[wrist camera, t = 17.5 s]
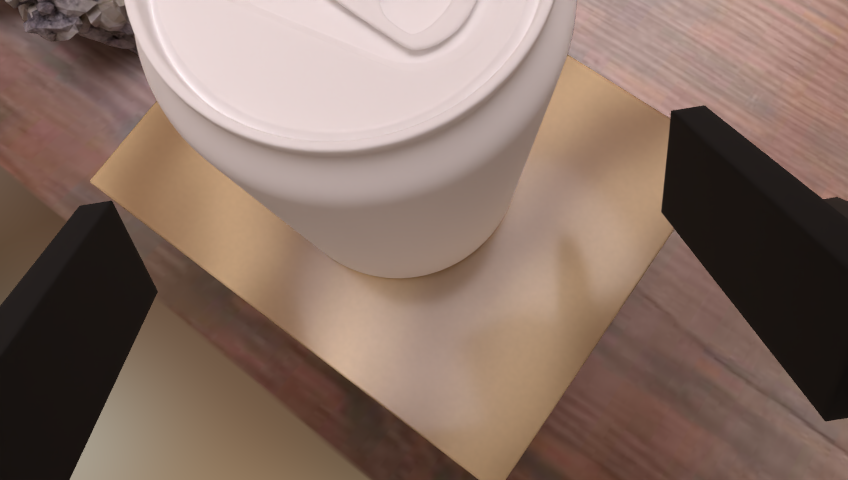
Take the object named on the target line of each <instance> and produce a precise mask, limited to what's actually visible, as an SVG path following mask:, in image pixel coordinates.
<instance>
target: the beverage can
mask: <svg viewBox="0 0 848 480" xmlns="http://www.w3.org/2000/svg"><path fill="white" fill-rule="evenodd" d="M124 3H125V7H126V11H127V15H128V18H129V21H130V24H131V27H132V29H133V32H134V35H135V41H136V46H137V50H138V54H139V58H140V61H141V65H142V68H143V71H144V73H145V76H146V79H147V81H148V84H149V86H150V88H151V90H152V92H153V94H154V96H155V98H156V100H157V102H158V104H159V105H160V107H161V109H162V110H163V112H164V113H165V115H166V116H167V118H168V119H169V121H170V122H171V124H172V125H173V126H174V128H175V129H176V130H177V131H178V133H179V134H180V135H181V136H182V137H183V138H184V140H185V141H186V142H187V143H188V144H189V145H190V146H191V147H192V148H193V149H194V150H195V151H196V152H197V153H199V154H200V155H201V156H202V157H203V158H204V159H205V160H207V161H208V162H209V163H210V164H212V165H213V166H214V167H215V168H217V169H218V170H219V171H220V172H222V173H223V174H224V175H225V176H227V177H228V178H229V179H231V180H232V181H233V182H234V183H236V184H237V185H238V186H239V187H241V188H242V189H243V190H245V191H246V192H247V193H248V194H250V195H251V196H252V197H253V198H255V199H256V200H257V201H259V202H260V203H261V204H262V205H264V206H265V207H266V208H267V209H269V210H270V211H271V212H273V213H274V214H275V215H276V216H278V217H279V218H280V219H281V220H283V221H284V222H285V223H287V224H288V225H289V226H290V227H292V228H293V229H294V230H295V231H297V232H298V233H299V234H301V235H302V236H303V237H304V238H306V239H307V240H308V241H309V242H311V243H312V244H313V245H315V246H316V247H317V248H318V249H320V250H321V251H322V252H324V253H325V254H326V255H328V256H329V257H330V258H332V259H333V260H335V261H337V262H338V263H340V264H342V265H344V266H346V267H348V268H350V269H353V270H355V271H358V272H361V273H364V274H368V275H372V276H377V277H384V278H412V277H419V276H424V275H428V274H432V273H435V272H438V271H441V270H443V269H446V268H448V267H450V266H452V265H454V264H456V263H458V262H460V261H461V260H463V259H465V258H466V257H467V256H469V255H470V254H472V253H473V252H474V251H475V250H477V249H478V248H479V247H480V246H481V245H482V244H483V243H484V242H485V241H486V240H487V239H488V238H489V237H490V236H491V234H492V233H493V232H494V231H495V229H496V228H497V226H498V225H499V223H500V222H501V220H502V219H503V217H504V215H505V213H506V211H507V209H508V207H509V204H510V202H511V200H512V197H513V194H514V192H515V189H516V187H517V184H518V182H519V179H520V176H521V174H522V171H523V169H524V166H525V164H526V161H527V158H528V156H529V153H530V151H531V148H532V146H533V143H534V141H535V138H536V135H537V133H538V130H539V128H540V125H541V123H542V120H543V117H544V115H545V112H546V110H547V107H548V105H549V102H550V100H551V97H552V94H553V92H554V89H555V87H556V84H557V82H558V79H559V76H560V74H561V71H562V68H563V66H564V63H565V60H566V57H567V54H568V51H569V48H570V44H571V40H572V35H573V30H574V24H575V17H576V5H577V0H124Z"/></svg>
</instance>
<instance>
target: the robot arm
mask: <svg viewBox="0 0 848 480" xmlns="http://www.w3.org/2000/svg"><path fill="white" fill-rule="evenodd" d="M661 212H662V214H663V215H664V216H665V218H666V219H667V220H668V221H669V223H670V224H671V225H672V226H673V228H674V229H675V230H676V232H677V233H678V234H679V235H680V237H681V238H682V239H683V240H684V242H685V243H686V244H687V246H688V247H689V248H690V249H691V251H692V252H693V253H694V255H695V256H696V257H697V258H698V260H699V261H700V262H701V263H702V265H703V266H704V267H705V269H706V270H707V271H708V272H709V274H710V275H711V276H712V277H713V279H714V280H715V281H716V283H717V284H718V285H719V286H720V288H721V289H722V290H723V291H724V293H725V294H726V295H727V297H728V298H729V299H730V300H731V302H732V303H733V304H734V305H735V307H736V308H737V309H738V311H739V312H740V313H741V314H742V316H743V317H744V318H745V319H746V321H747V322H748V323H749V325H750V326H751V327H752V328H753V330H754V331H755V332H756V334H757V335H758V336H759V337H760V339H761V340H762V341H763V342H764V344H765V345H766V346H767V348H768V349H769V350H770V351H771V353H772V354H773V355H774V356H775V358H776V359H777V360H778V362H779V363H780V364H781V365H782V367H783V368H784V369H785V370H786V372H787V373H788V374H789V376H790V377H791V378H792V379H793V381H794V382H795V383H796V384H797V386H798V387H799V388H800V390H801V391H802V392H803V393H804V395H805V396H806V397H807V399H808V400H809V401H810V402H811V404H812V405H813V406H814V407H815V409H816V410H817V411H818V413H819V414H820V415H821V416H822V418H823V419H824V420H825V421H831V420H838V419H844V418H848V201H845V200H843V199H841V198H838V197H835V198H829V199H822V198H821V197H819V196H818V195H817V194H816V193H814V192H813V191H812V190H811V189H809V188H808V187H807V186H805V185H804V184H803V183H802V182H800V181H799V180H798V179H797V178H795V177H794V176H793V175H792V174H790V173H789V172H788V171H787V170H785V169H784V168H783V167H781V166H780V165H779V164H778V163H776V162H775V161H774V160H773V159H771V158H770V157H769V156H768V155H766V154H765V153H764V152H763V151H761V150H760V149H759V148H757V147H756V146H755V145H754V144H752V143H751V142H750V141H749V140H747V139H746V138H745V137H744V136H742V135H741V134H740V133H739V132H737V131H736V130H735V129H733V128H732V127H731V126H730V125H728V124H727V123H726V122H725V121H723V120H722V119H721V118H720V117H718V116H717V115H716V114H715V113H713V112H712V111H711V110H709V109H708V108H707V107H706V106H698V107H692V108H686V109H680V110H673V111H671V119H670V129H669V139H668V149H667V158H666V168H665V178H664V188H663V198H662V208H661ZM157 292H158V291H157V289H156V287H155V285H154V283H153V281H152V279H151V277H150V275H149V273H148V271H147V269H146V267H145V265H144V263H143V261H142V259H141V257H140V255H139V253H138V252H137V250H136V248H135V246H134V244H133V242H132V240H131V238H130V236H129V234H128V232H127V230H126V228H125V226H124V224H123V222H122V220H121V218H120V216H119V214H118V212H117V210H116V208H115V206H114V204H113V202H112V201H107V202H101V203H94V204H88V205H82V206H79V207H78V209H77V210H76V211H75V212H74V214H73V215H72V216H71V217H70V219H69V220H68V221H67V223H66V224H65V225H64V226H63V228H62V229H61V230H60V232H59V233H58V234H57V235H56V236H55V238H54V239H53V240H52V241H51V243H50V244H49V245H48V246H47V248H46V249H45V250H44V252H43V253H42V254H41V256H40V257H39V258H38V259H37V261H36V262H35V263H34V264H33V265H32V267H31V268H30V269H29V270H28V272H27V273H26V274H25V276H24V277H23V278H22V279H21V281H20V282H19V283H18V284H17V286H16V287H15V288H14V289H13V291H12V292H11V293H10V294H9V296H8V297H7V298H6V300H5V301H4V302H3V303H2V304H1V306H0V480H70V477H71V475H72V473H73V471H74V469H75V467H76V464H77V462H78V460H79V458H80V456H81V454H82V452H83V450H84V448H85V445H86V443H87V441H88V439H89V437H90V435H91V433H92V430H93V428H94V426H95V424H96V422H97V420H98V418H99V416H100V413H101V411H102V409H103V407H104V405H105V403H106V401H107V399H108V396H109V394H110V392H111V390H112V388H113V386H114V384H115V382H116V379H117V377H118V375H119V373H120V371H121V369H122V366H123V364H124V362H125V360H126V358H127V356H128V354H129V352H130V350H131V347H132V345H133V343H134V341H135V339H136V336H137V335H138V332H139V330H140V328H141V326H142V324H143V322H144V320H145V317H146V315H147V313H148V311H149V309H150V307H151V305H152V303H153V301H154V298H155V296H156V294H157Z"/></svg>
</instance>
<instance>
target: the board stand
mask: <svg viewBox="0 0 848 480" xmlns="http://www.w3.org/2000/svg"><path fill="white" fill-rule="evenodd" d="M669 129H670V118H668V117H667V116H665V115H664V114H662V113H660V112H659V111H657V110H656V109H654V108H652V107H651V106H649V105H647V104H646V103H644V102H643V101H641V100H639V99H638V98H636V97H635V96H633V95H631V94H630V93H628V92H627V91H625V90H623V89H622V88H620V87H619V86H617V85H615V84H614V83H612V82H611V81H609V80H607V79H606V78H604V77H603V76H601V75H599V74H598V73H596V72H595V71H593V70H591V69H590V68H588V67H587V66H585V65H583V64H582V63H580V62H579V61H577V60H575V59H574V58H572V57H571V56H569V55H567V57H566V60H565V63H564V66H563V68H562V71H561V74H560V76H559V79H558V82H557V84H556V87H555V89H554V92H553V94H552V97H551V100H550V102H549V105H548V107H547V110H546V112H545V115H544V117H543V120H542V123H541V125H540V128H539V130H538V133H537V135H536V138H535V141H534V143H533V146H532V148H531V151H530V153H529V156H528V158H527V161H526V164H525V166H524V169H523V171H522V174H521V176H520V179H519V182H518V184H517V187H516V189H515V192H514V194H513V197H512V200H511V202H510V204H509V207H508V209H507V211H506V213H505V215H504V217H503V219H502V220H501V222H500V223H499V225H498V226H497V228H496V229H495V231H494V232H493V233H492V234H491V236H490V237H489V238H488V239H487V240H486V241H485V242H484V243H483V244H482V245H481V246H480V247H479V248H478V249H477V250H475V251H474V252H473V253H472V254H470V255H469V256H467V257H466V258H465V259H463V260H461V261H460V262H458V263H456V264H454V265H452V266H450V267H448V268H446V269H443V270H441V271H438V272H435V273H432V274H428V275H424V276H419V277H412V278H384V277H377V276H372V275H368V274H364V273H361V272H358V271H355V270H353V269H350V268H348V267H346V266H344V265H342V264H340V263H338V262H337V261H335V260H333V259H332V258H330V257H329V256H328V255H326V254H325V253H324V252H322V251H321V250H320V249H318V248H317V247H316V246H315V245H313V244H312V243H311V242H309V241H308V240H307V239H306V238H304V237H303V236H302V235H301V234H299V233H298V232H297V231H295V230H294V229H293V228H292V227H290V226H289V225H288V224H287V223H285V222H284V221H283V220H281V219H280V218H279V217H278V216H276V215H275V214H274V213H273V212H271V211H270V210H269V209H267V208H266V207H265V206H264V205H262V204H261V203H260V202H259V201H257V200H256V199H255V198H253V197H252V196H251V195H250V194H248V193H247V192H246V191H245V190H243V189H242V188H241V187H239V186H238V185H237V184H236V183H234V182H233V181H232V180H231V179H229V178H228V177H227V176H225V175H224V174H223V173H222V172H220V171H219V170H218V169H217V168H215V167H214V166H213V165H212V164H210V163H209V162H208V161H207V160H205V159H204V158H203V157H202V156H201V155H200V154H199V153H197V152H196V151H195V150H194V149H193V148H192V147H191V146H190V145H189V144H188V143H187V142H186V141H185V140H184V138H183V137H182V136H181V135H180V134H179V133H178V131H177V130H176V129H175V128H174V126H173V125H172V124H171V122H170V121H169V119H168V118H167V116H166V115H165V113H164V112H163V110H162V109H161V107H160V105H159V104H158V102H157V101H156V102H155V103H154V105H153V106H152V107H151V108H150V109H149V111H148V112H147V113H146V114H145V115H144V117H143V118H142V119H141V120H140V121H139V123H138V124H137V125H136V126H135V127H134V129H133V130H132V131H131V132H130V133H129V135H128V136H127V137H126V138H125V139H124V141H123V142H122V143H121V144H120V145H119V147H118V148H117V149H116V150H115V151H114V153H113V154H112V155H111V156H110V157H109V159H108V160H107V161H106V162H105V163H104V165H103V166H102V167H101V168H100V169H99V171H98V172H97V173H96V174H95V175H94V177H93V178H92V179H91V180H90V182H91V183H92V184H93V185H94V186H96V187H97V188H98V189H100V190H101V191H102V192H104V193H105V194H106V195H107V196H109V197H110V198H111V199H113V200H114V201H115V202H117V203H118V204H119V205H121V206H122V207H123V208H124V209H126V210H127V211H128V212H130V213H131V214H132V215H134V216H135V217H136V218H138V219H139V220H140V221H141V222H143V223H144V224H145V225H147V226H148V227H149V228H151V229H152V230H153V231H154V232H156V233H157V234H158V235H160V236H161V237H162V238H164V239H165V240H166V241H168V242H169V243H170V244H171V245H173V246H174V247H175V248H177V249H178V250H179V251H181V252H182V253H183V254H185V255H186V256H187V257H188V258H190V259H191V260H192V261H194V262H195V263H196V264H198V265H199V266H200V267H202V268H203V269H204V270H205V271H207V272H208V273H209V274H211V275H212V276H213V277H215V278H216V279H217V280H218V281H220V282H221V283H222V284H224V285H225V286H226V287H228V288H229V289H230V290H232V291H233V292H234V293H235V294H237V295H238V296H239V297H241V298H242V299H243V300H245V301H246V302H247V303H249V304H250V305H251V306H252V307H254V308H255V309H256V310H258V311H259V312H260V313H262V314H263V315H264V316H266V317H267V318H268V319H269V320H271V321H272V322H273V323H275V324H276V325H277V326H279V327H280V328H281V329H282V330H284V331H285V332H286V333H288V334H289V335H290V336H292V337H293V338H294V339H296V340H297V341H298V342H299V343H301V344H302V345H303V346H305V347H306V348H307V349H309V350H310V351H311V352H313V353H314V354H315V355H316V356H318V357H319V358H320V359H322V360H323V361H324V362H326V363H327V364H328V365H329V366H331V367H332V368H333V369H335V370H336V371H337V372H339V373H340V374H341V375H343V376H344V377H345V378H346V379H348V380H349V381H350V382H352V383H353V384H354V385H356V386H357V387H358V388H360V389H361V390H362V391H363V392H365V393H366V394H367V395H369V396H370V397H371V398H373V399H374V400H375V401H377V402H378V403H379V404H380V405H382V406H383V407H384V408H386V409H387V410H388V411H390V412H391V413H392V414H393V415H395V416H396V417H397V418H399V419H400V420H401V421H403V422H404V423H405V424H407V425H408V426H409V427H410V428H412V429H413V430H414V431H416V432H417V433H418V434H420V435H421V436H422V437H424V438H425V439H426V440H427V441H429V442H430V443H431V444H433V445H434V446H435V447H437V448H438V449H439V450H441V451H442V452H443V453H444V454H446V455H447V456H448V457H450V458H451V459H452V460H454V461H455V462H456V463H457V464H459V465H460V466H461V467H463V468H464V469H465V470H467V471H468V472H469V473H471V474H472V475H473V476H474V477H476V478H477V479H478V480H506V479H507V477H508V476H509V474H510V473H511V471H512V470H513V468H514V467H515V465H516V464H517V462H518V461H519V459H520V458H521V456H522V455H523V453H524V452H525V450H526V449H527V447H528V446H529V444H530V443H531V441H532V440H533V439H534V437H535V436H536V434H537V433H538V431H539V430H540V428H541V427H542V425H543V424H544V422H545V421H546V419H547V418H548V416H549V415H550V413H551V412H552V410H553V409H554V407H555V406H556V404H557V403H558V401H559V400H560V398H561V397H562V395H563V394H564V392H565V391H566V389H567V388H568V386H569V385H570V383H571V382H572V380H573V379H574V377H575V376H576V374H577V373H578V371H579V370H580V368H581V367H582V365H583V364H584V363H585V361H586V360H587V358H588V357H589V355H590V354H591V352H592V351H593V349H594V348H595V346H596V345H597V343H598V342H599V340H600V339H601V337H602V336H603V334H604V333H605V331H606V330H607V328H608V327H609V325H610V324H611V322H612V321H613V319H614V318H615V316H616V315H617V313H618V312H619V310H620V309H621V307H622V306H623V304H624V303H625V301H626V300H627V298H628V297H629V295H630V294H631V292H632V291H633V290H634V288H635V287H636V285H637V284H638V282H639V281H640V279H641V278H642V276H643V275H644V273H645V272H646V270H647V269H648V267H649V266H650V264H651V263H652V261H653V260H654V258H655V257H656V255H657V254H658V252H659V251H660V249H661V248H662V246H663V245H664V243H665V242H666V240H667V239H668V237H669V236H670V234H671V233H672V231H673V230H674V228H673V226H672V225H671V224H670V223H669V221H668V220H667V219H666V218H665V216H664V215H663V214H662V212H661V208H662V198H663V188H664V178H665V168H666V158H667V149H668V139H669Z"/></svg>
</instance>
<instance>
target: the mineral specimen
mask: <svg viewBox="0 0 848 480" xmlns="http://www.w3.org/2000/svg"><path fill="white" fill-rule="evenodd" d="M5 2H7V3H8V4H9V5H10V6H12V7H13V8H16V7H18V8H19V12H20V15H21V17H22V20H24V21H26V22H24V23H23V25H24V28H25V32H28V33H36V34H39V35H40V36H42V37H43V38H45V39H47V40H49V41H63V40H69V39H70V38H72V37H73V36H74V35H75V34H76V33H78V34H79V35H80V36H82V37H86V38H89V39H92V40H96V41H99V42H102V43H104V44H106V45H108V46H113V47H118V48H122V49H129V50H130V51H132V52H134V53H136V54H138V50H137V46H136V41H135V35H134V32H133V29H132V27H131V24H130V21H129V18H128V15H127V11H126V7H125V3H124V0H5ZM138 55H139V54H138Z"/></svg>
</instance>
